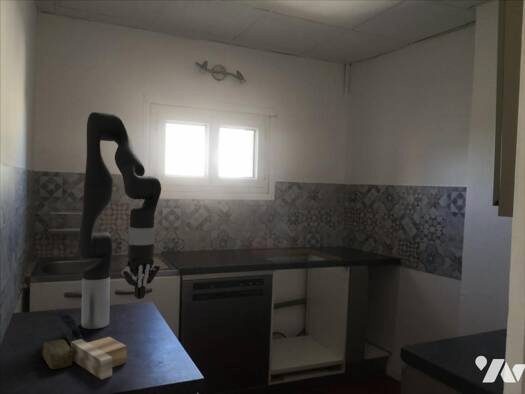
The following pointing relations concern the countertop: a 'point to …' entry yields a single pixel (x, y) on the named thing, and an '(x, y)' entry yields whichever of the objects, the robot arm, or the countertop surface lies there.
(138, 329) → the countertop surface
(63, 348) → the stone block
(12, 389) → the countertop surface
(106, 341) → the oak block
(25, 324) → the countertop surface
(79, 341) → the board
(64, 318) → the stone
